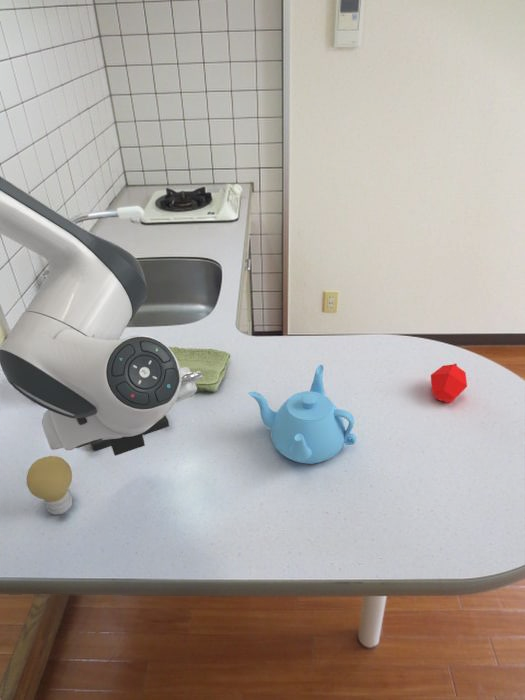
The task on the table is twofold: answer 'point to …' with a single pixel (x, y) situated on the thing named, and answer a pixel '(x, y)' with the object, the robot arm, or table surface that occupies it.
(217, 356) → the washcloth
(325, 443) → the teapot
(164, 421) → the base pad
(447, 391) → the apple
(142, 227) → the table surface
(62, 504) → the light bulb
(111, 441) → the pad block
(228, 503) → the table surface
